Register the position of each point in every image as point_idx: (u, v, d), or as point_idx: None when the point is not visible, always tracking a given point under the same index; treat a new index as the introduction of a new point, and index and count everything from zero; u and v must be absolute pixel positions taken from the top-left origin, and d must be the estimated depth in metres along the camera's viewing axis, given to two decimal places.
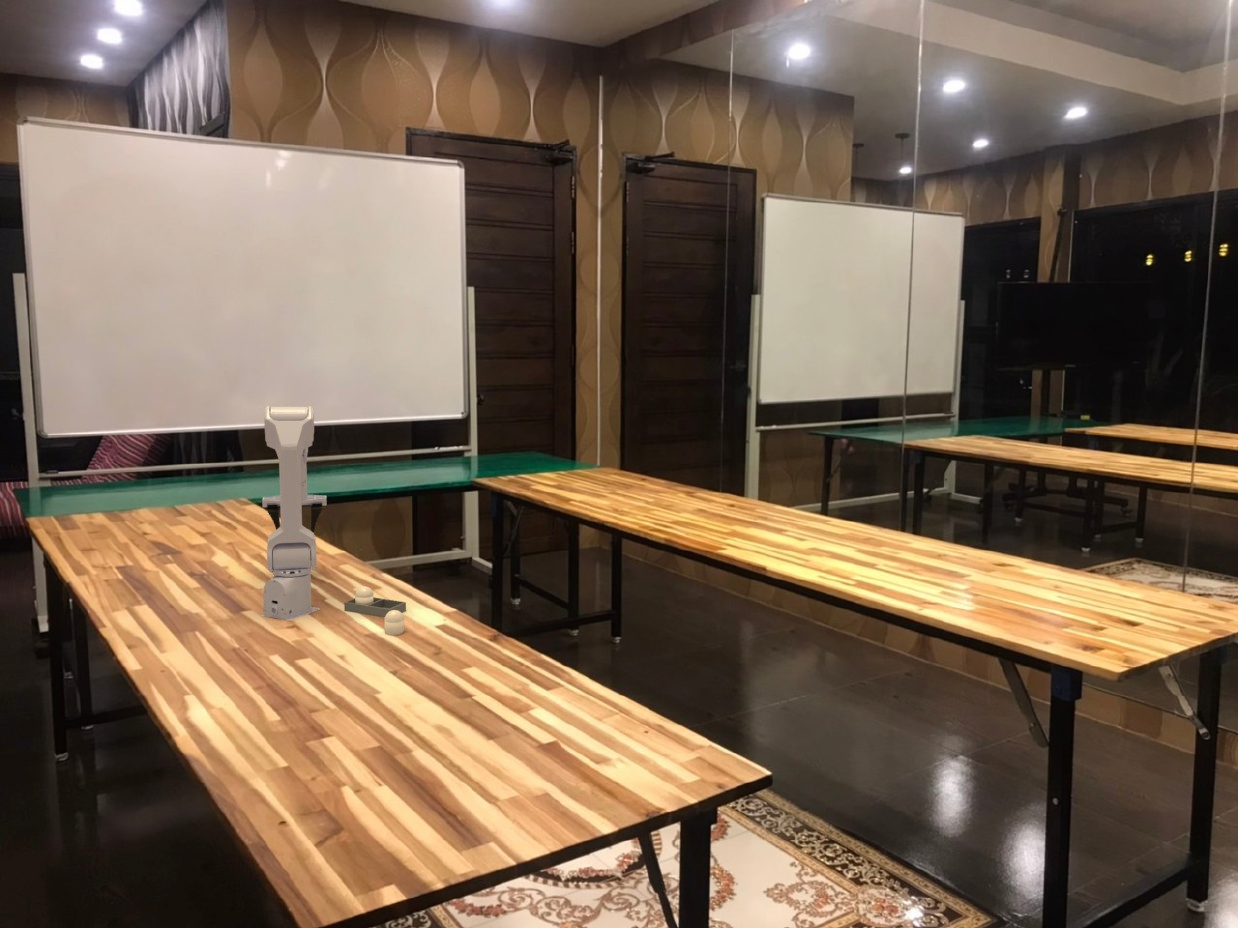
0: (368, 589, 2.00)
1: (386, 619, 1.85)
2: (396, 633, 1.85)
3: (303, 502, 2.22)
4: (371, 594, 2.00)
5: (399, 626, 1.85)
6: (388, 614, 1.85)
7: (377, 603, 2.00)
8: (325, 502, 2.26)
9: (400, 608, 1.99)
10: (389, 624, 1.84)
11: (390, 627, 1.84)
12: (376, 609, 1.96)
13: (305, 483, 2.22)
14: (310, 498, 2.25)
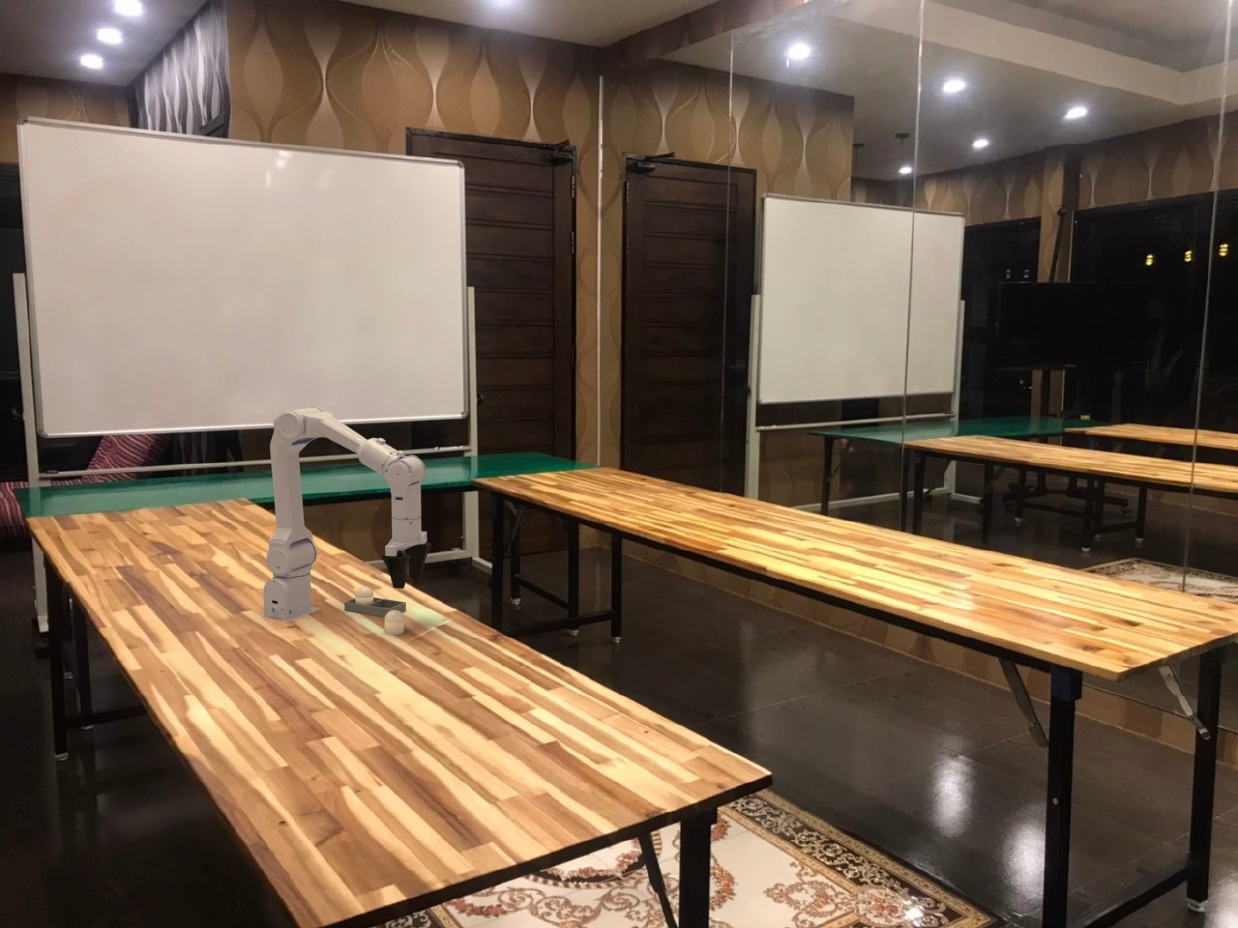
0: (368, 589, 2.00)
1: (386, 619, 1.85)
2: (396, 633, 1.85)
3: (390, 541, 1.86)
4: (371, 594, 2.00)
5: (399, 626, 1.85)
6: (388, 614, 1.85)
7: (377, 603, 2.00)
8: None
9: (400, 608, 1.99)
10: (389, 624, 1.84)
11: (390, 627, 1.84)
12: (376, 609, 1.96)
13: (395, 521, 1.85)
14: None
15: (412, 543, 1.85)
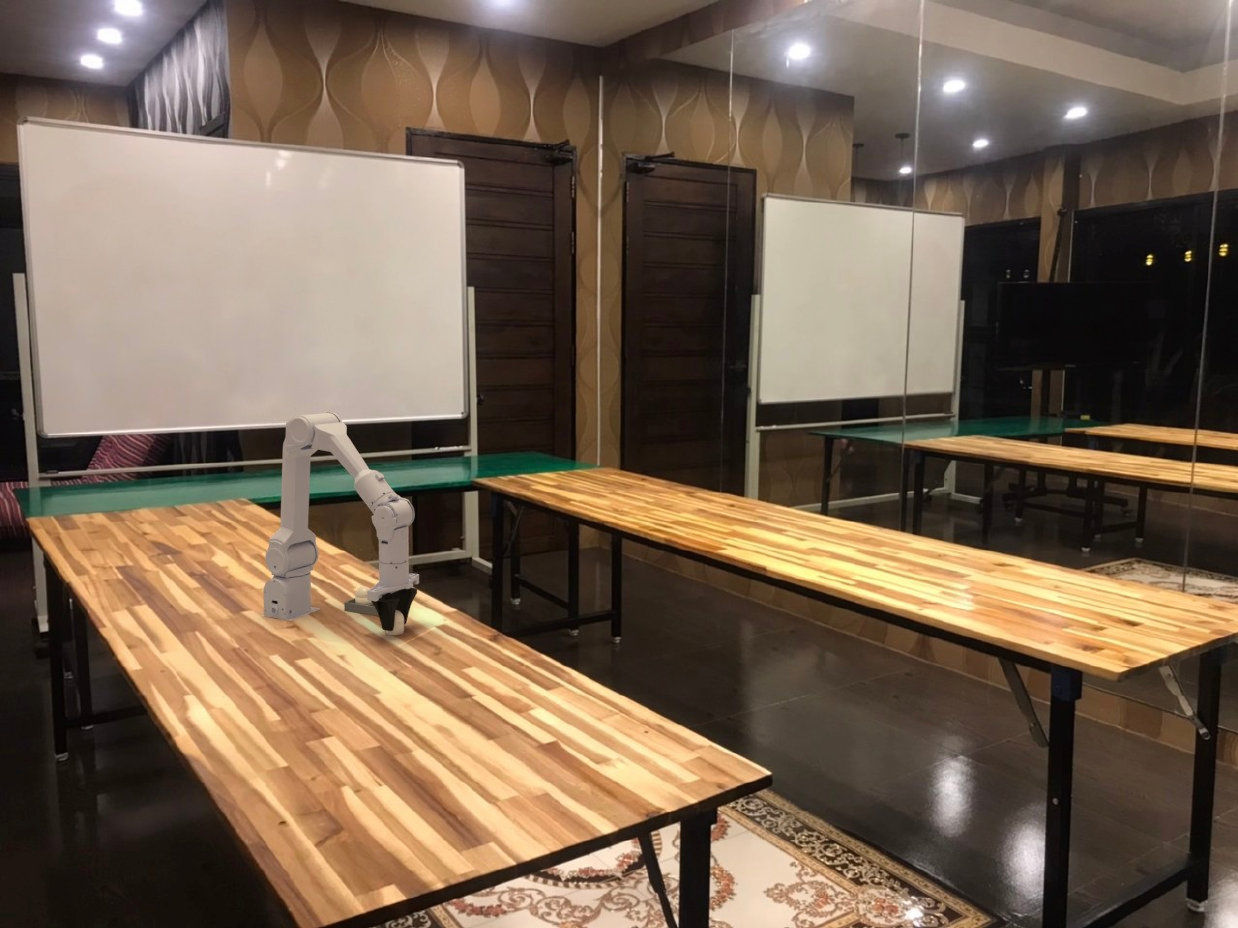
0: (368, 589, 2.00)
1: None
2: (396, 633, 1.85)
3: None
4: None
5: (399, 626, 1.85)
6: None
7: None
8: None
9: None
10: None
11: None
12: None
13: (380, 564, 1.83)
14: None
15: (397, 588, 1.82)
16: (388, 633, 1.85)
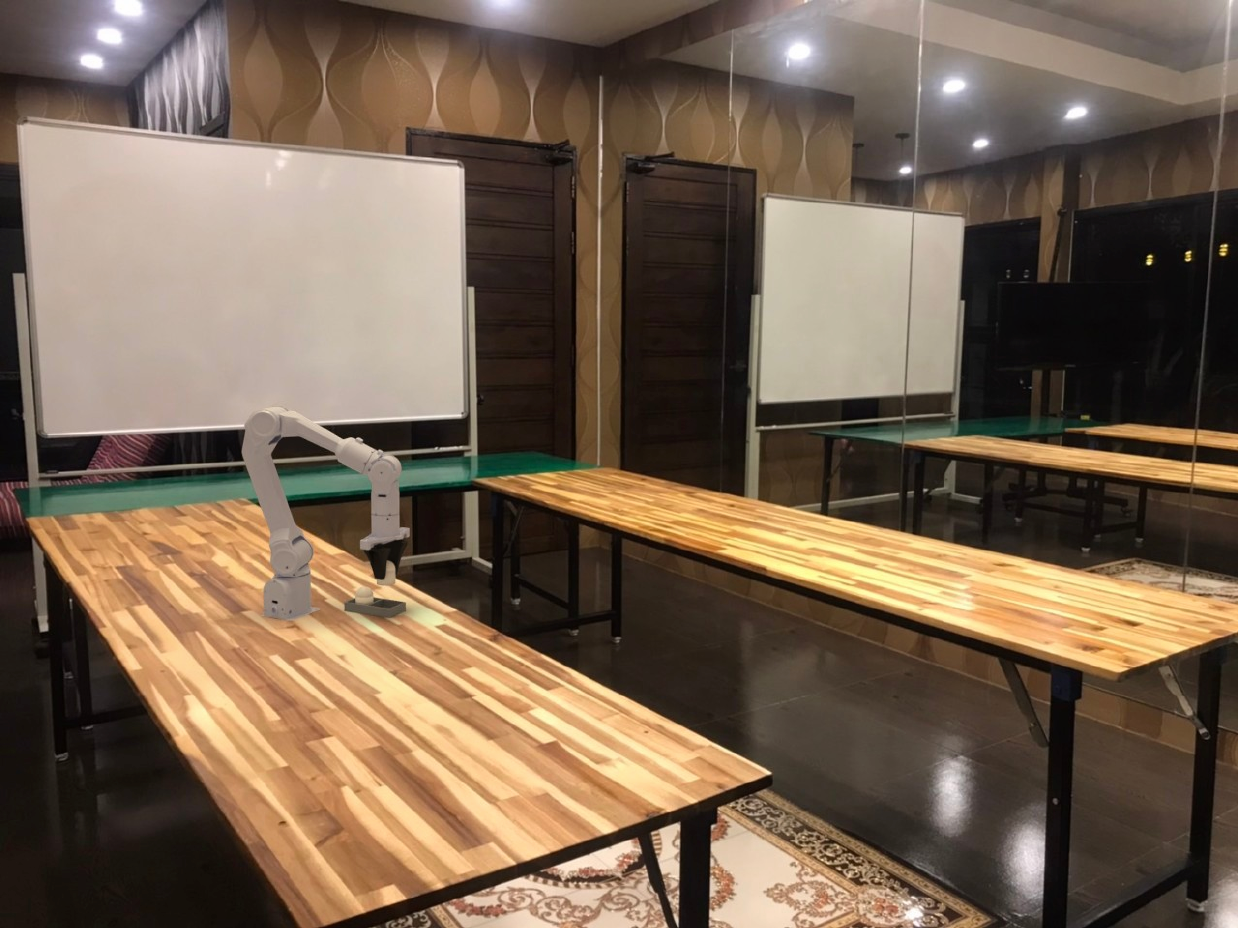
0: (368, 589, 2.00)
1: None
2: (387, 582, 1.96)
3: None
4: (371, 594, 2.00)
5: (390, 575, 1.96)
6: None
7: (377, 603, 2.00)
8: None
9: (400, 608, 1.99)
10: None
11: None
12: (376, 609, 1.96)
13: (373, 516, 1.94)
14: None
15: (388, 538, 1.93)
16: (380, 582, 1.96)
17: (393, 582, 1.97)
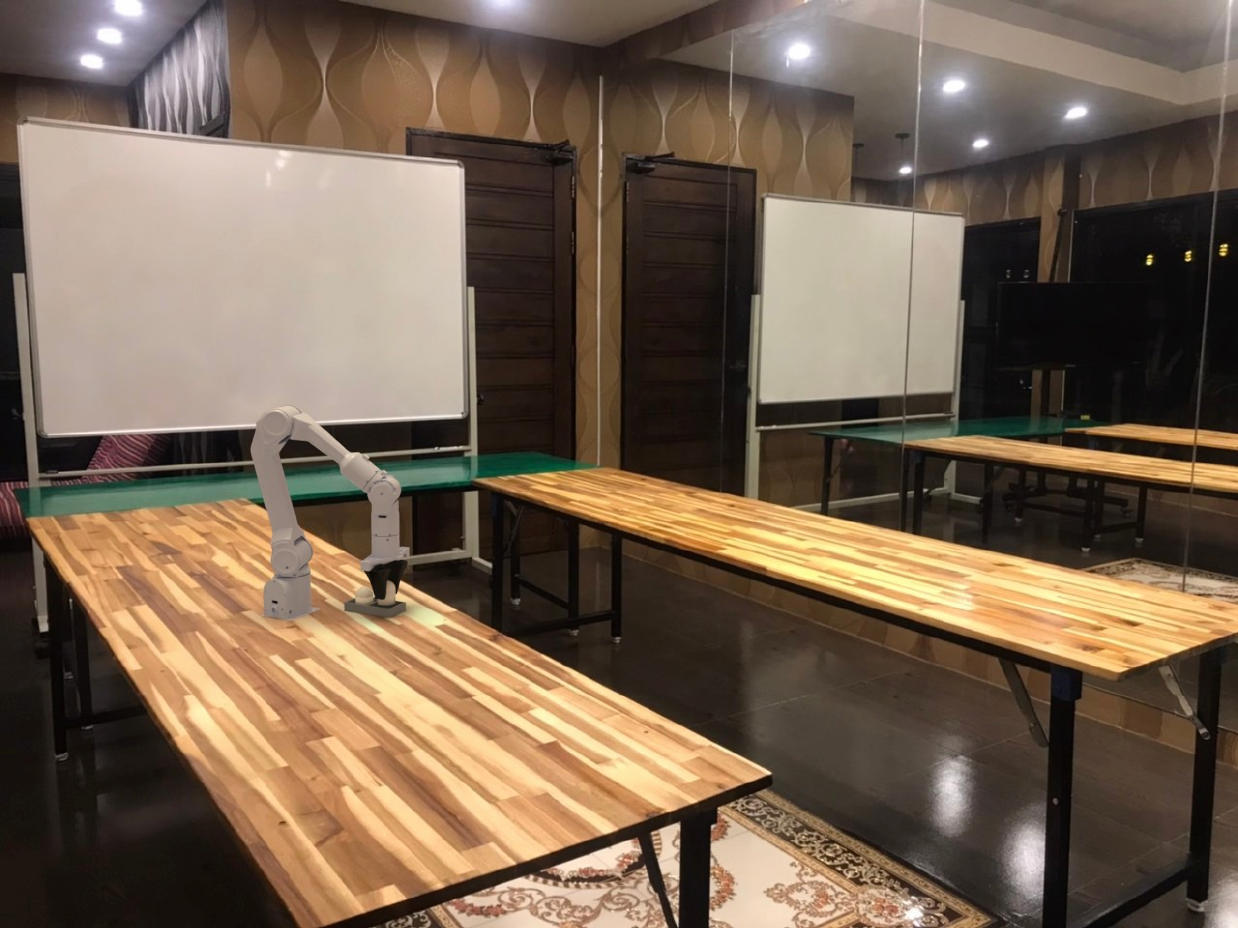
0: (368, 589, 2.00)
1: None
2: (388, 602, 1.97)
3: None
4: (371, 594, 2.00)
5: (391, 595, 1.97)
6: None
7: None
8: None
9: (400, 608, 1.99)
10: None
11: None
12: (376, 609, 1.96)
13: (373, 537, 1.95)
14: None
15: (388, 559, 1.94)
16: (380, 602, 1.97)
17: (393, 602, 1.98)
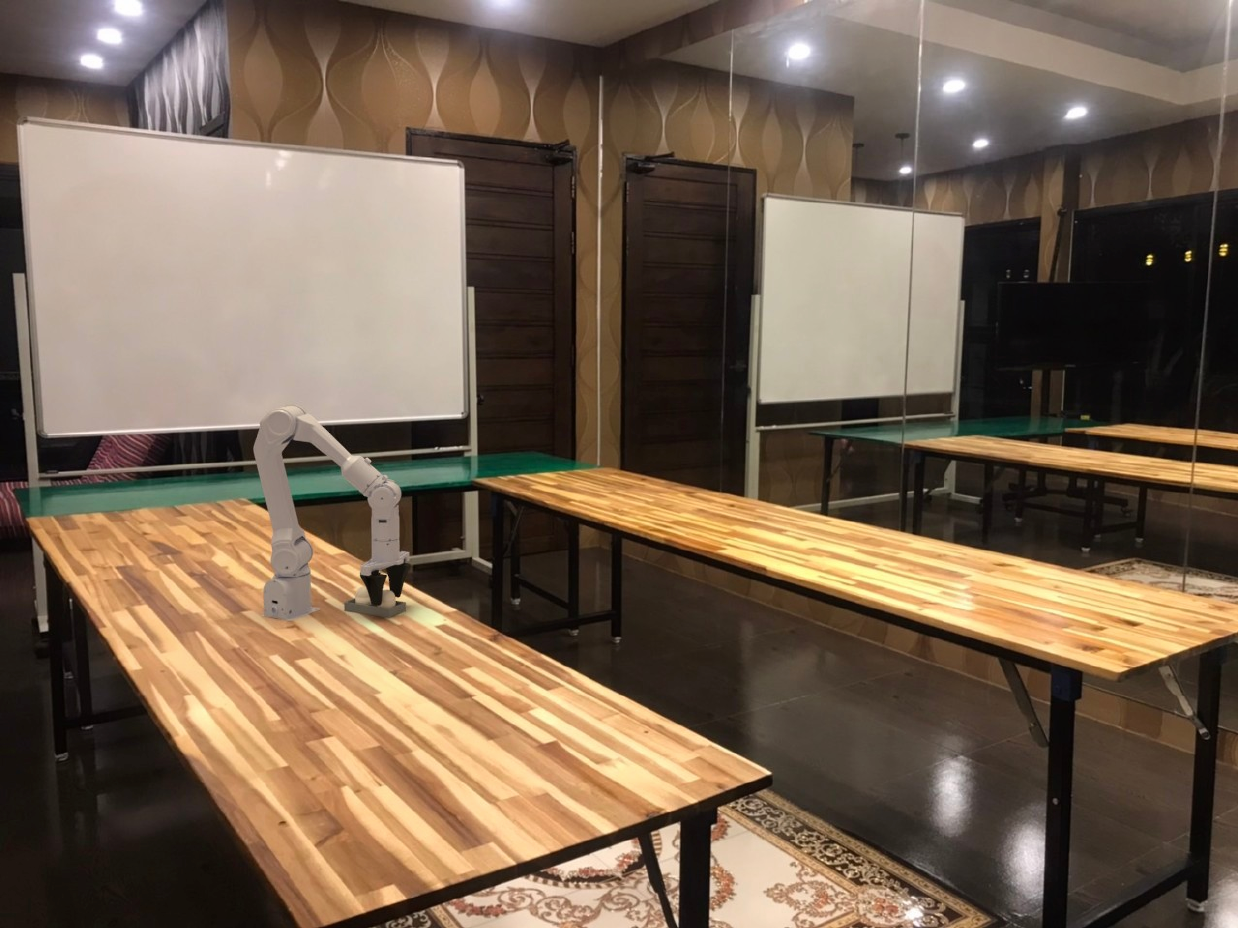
0: None
1: None
2: None
3: None
4: None
5: (391, 604, 1.98)
6: None
7: None
8: None
9: (400, 608, 1.99)
10: None
11: (382, 605, 1.97)
12: (376, 609, 1.96)
13: (373, 542, 1.95)
14: None
15: (388, 563, 1.94)
16: None
17: None
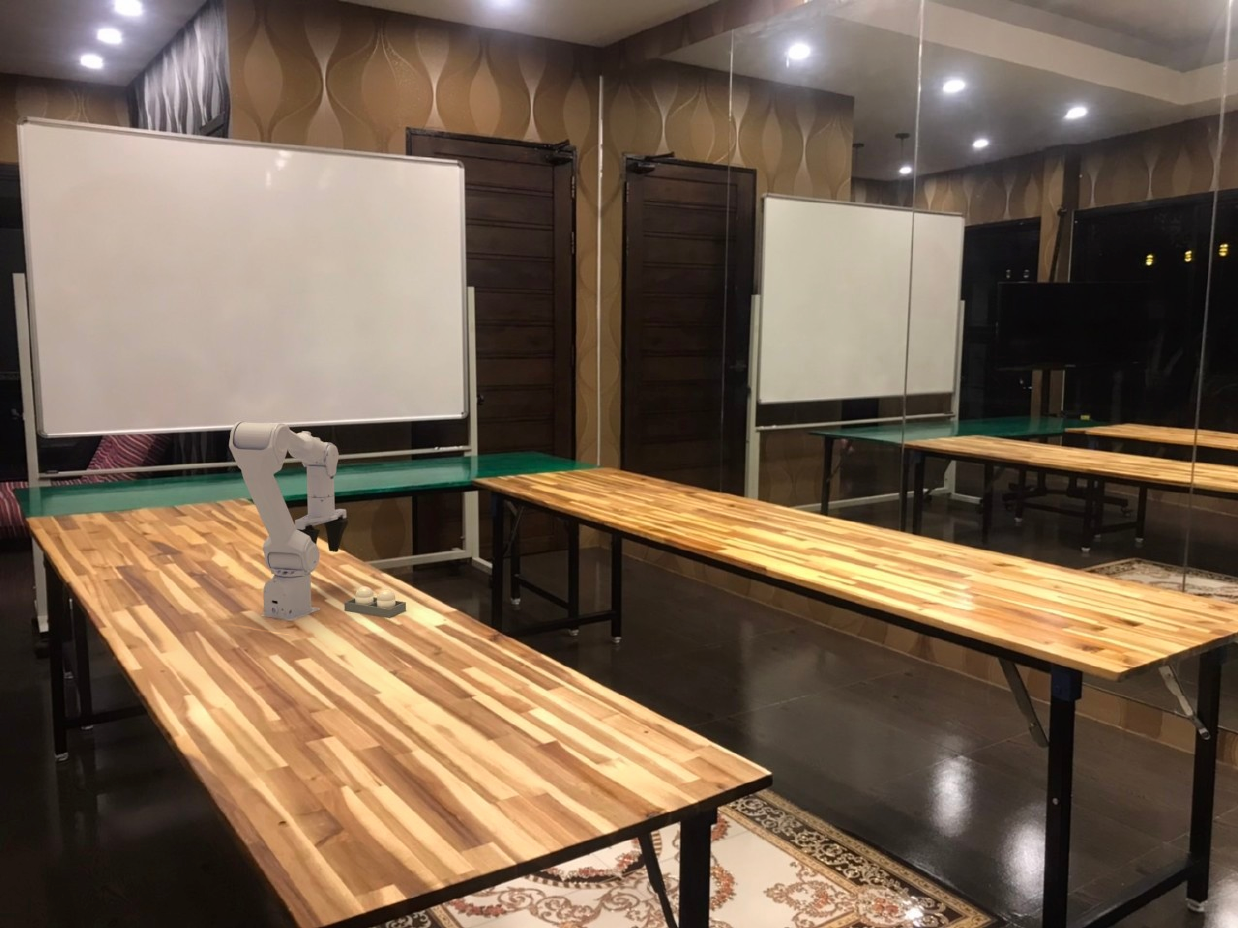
0: (368, 589, 2.00)
1: (378, 598, 1.97)
2: None
3: None
4: (371, 594, 2.00)
5: (390, 604, 1.97)
6: (380, 593, 1.97)
7: None
8: None
9: (400, 608, 1.99)
10: (381, 602, 1.97)
11: (382, 605, 1.97)
12: (376, 609, 1.96)
13: (308, 498, 2.06)
14: None
15: (322, 519, 2.06)
16: None
17: None
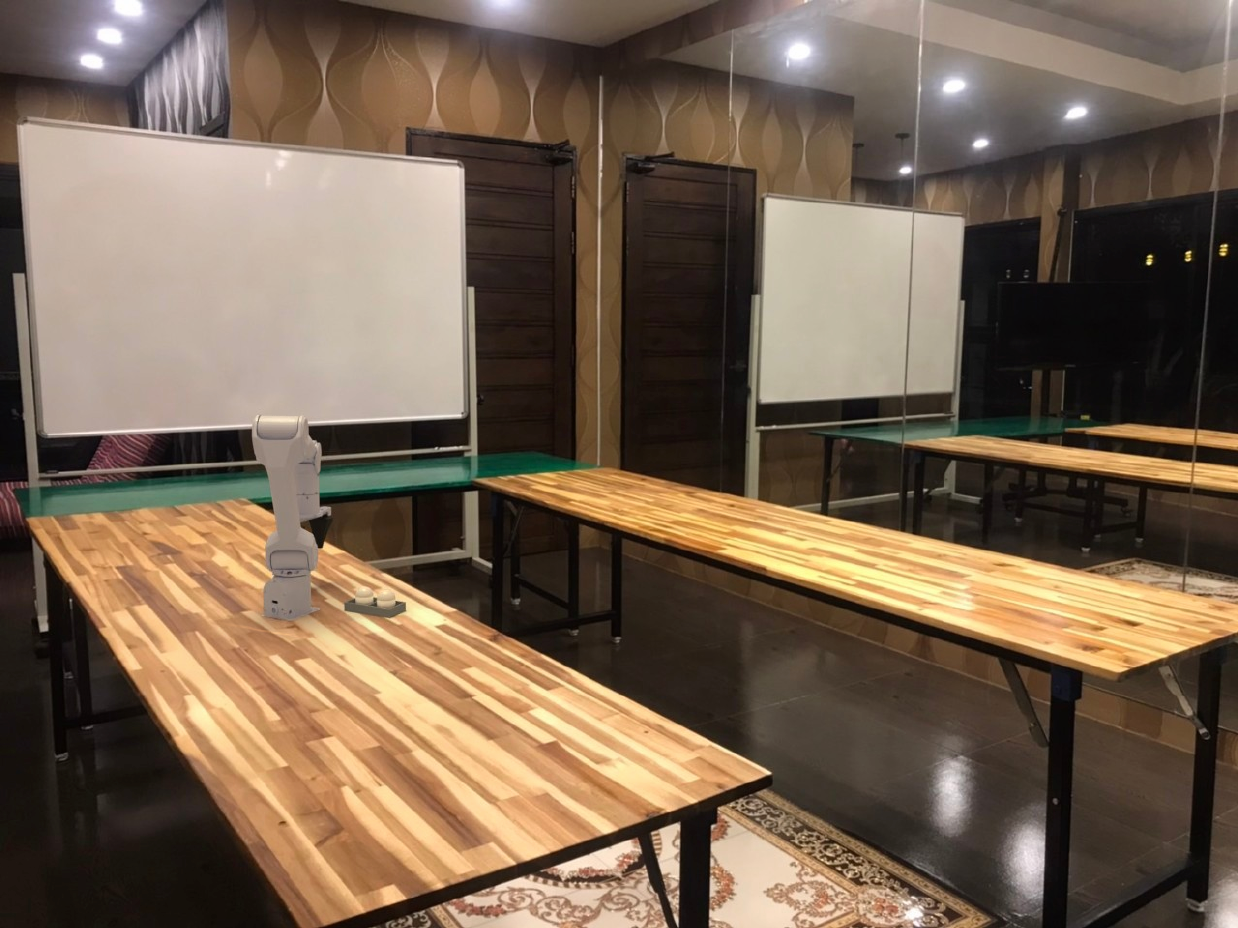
0: (368, 589, 2.00)
1: (378, 598, 1.97)
2: None
3: None
4: (371, 594, 2.00)
5: (390, 605, 1.97)
6: (380, 593, 1.98)
7: None
8: None
9: (400, 608, 1.99)
10: (380, 602, 1.97)
11: (381, 605, 1.97)
12: (376, 609, 1.96)
13: None
14: None
15: (307, 516, 2.08)
16: None
17: None
